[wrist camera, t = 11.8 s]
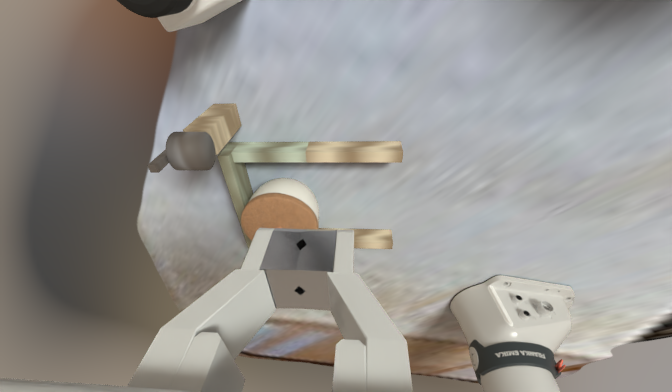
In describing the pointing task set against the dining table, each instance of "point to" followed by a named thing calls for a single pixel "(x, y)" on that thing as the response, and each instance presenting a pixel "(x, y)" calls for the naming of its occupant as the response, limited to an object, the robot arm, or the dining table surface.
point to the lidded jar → (280, 207)
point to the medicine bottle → (178, 11)
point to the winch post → (199, 140)
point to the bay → (243, 152)
